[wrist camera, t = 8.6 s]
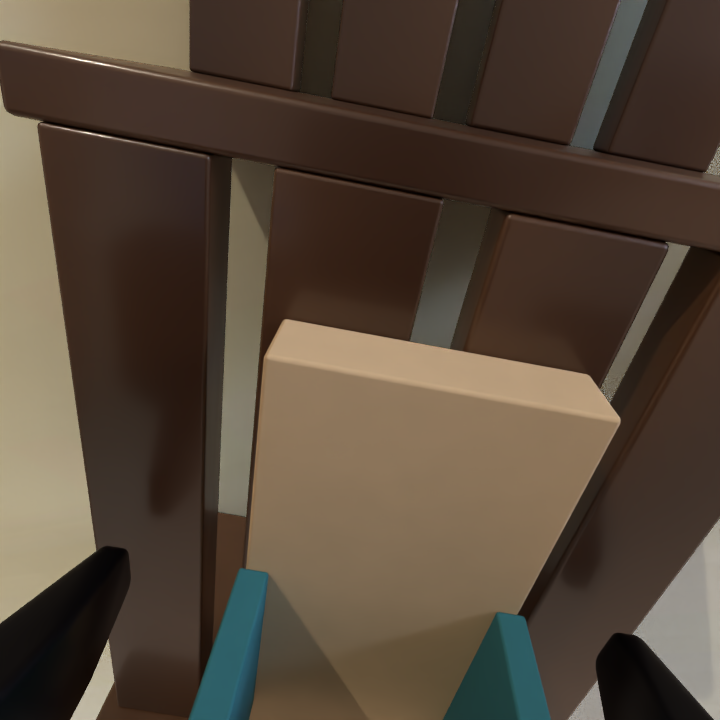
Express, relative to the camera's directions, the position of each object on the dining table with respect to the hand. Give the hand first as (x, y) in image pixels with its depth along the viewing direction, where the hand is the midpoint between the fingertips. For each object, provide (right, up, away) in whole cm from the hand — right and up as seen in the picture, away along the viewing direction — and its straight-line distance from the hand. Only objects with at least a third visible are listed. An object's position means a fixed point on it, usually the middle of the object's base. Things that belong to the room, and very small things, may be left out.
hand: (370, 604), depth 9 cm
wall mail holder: (0, 0, +1) cm, 1 cm away
